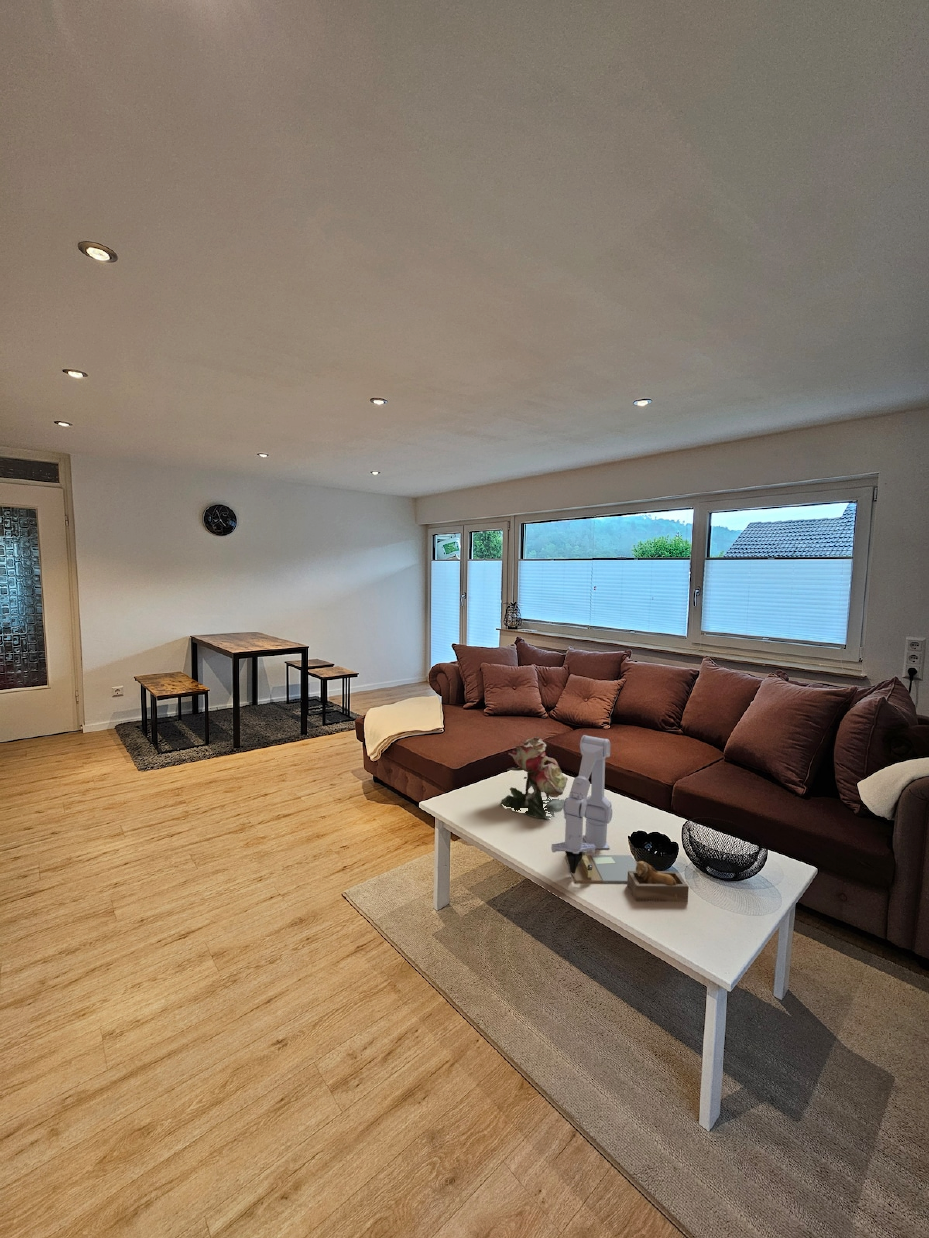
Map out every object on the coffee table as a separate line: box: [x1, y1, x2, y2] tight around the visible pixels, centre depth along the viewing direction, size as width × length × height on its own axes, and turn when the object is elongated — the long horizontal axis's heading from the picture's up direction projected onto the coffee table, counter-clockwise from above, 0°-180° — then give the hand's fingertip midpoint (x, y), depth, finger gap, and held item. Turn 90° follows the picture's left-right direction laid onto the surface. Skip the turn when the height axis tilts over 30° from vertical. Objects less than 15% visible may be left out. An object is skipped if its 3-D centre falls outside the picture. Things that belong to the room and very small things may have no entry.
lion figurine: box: [636, 860, 677, 902], centre depth 165 cm, size 15×5×9 cm, turn 66°
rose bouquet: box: [500, 736, 568, 821], centre depth 228 cm, size 26×29×30 cm
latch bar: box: [581, 854, 594, 877], centre depth 175 cm, size 10×2×3 cm, turn 1°
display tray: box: [626, 870, 690, 903], centre depth 165 cm, size 8×16×5 cm, turn 91°
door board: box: [564, 851, 637, 884], centre depth 178 cm, size 16×24×4 cm, turn 91°
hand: (572, 871), depth 173 cm, fingers closed
